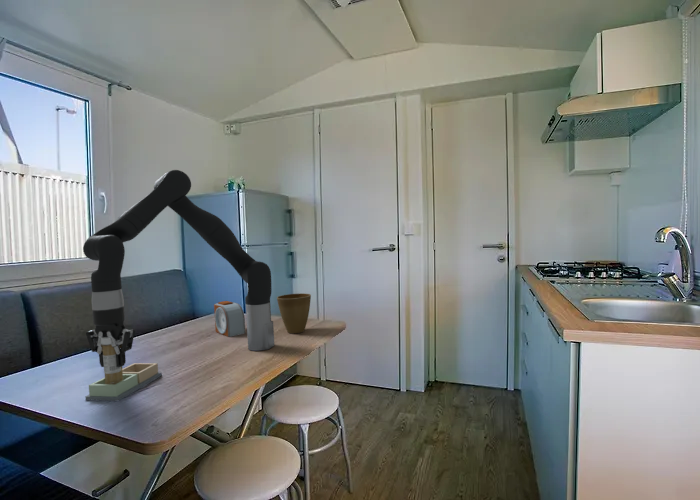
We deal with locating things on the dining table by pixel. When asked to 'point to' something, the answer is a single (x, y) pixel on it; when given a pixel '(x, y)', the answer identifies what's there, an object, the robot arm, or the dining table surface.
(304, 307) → the plant pot
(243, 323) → the alarm clock
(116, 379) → the sprinkles bottle
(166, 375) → the dining table surface
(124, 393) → the socket board
